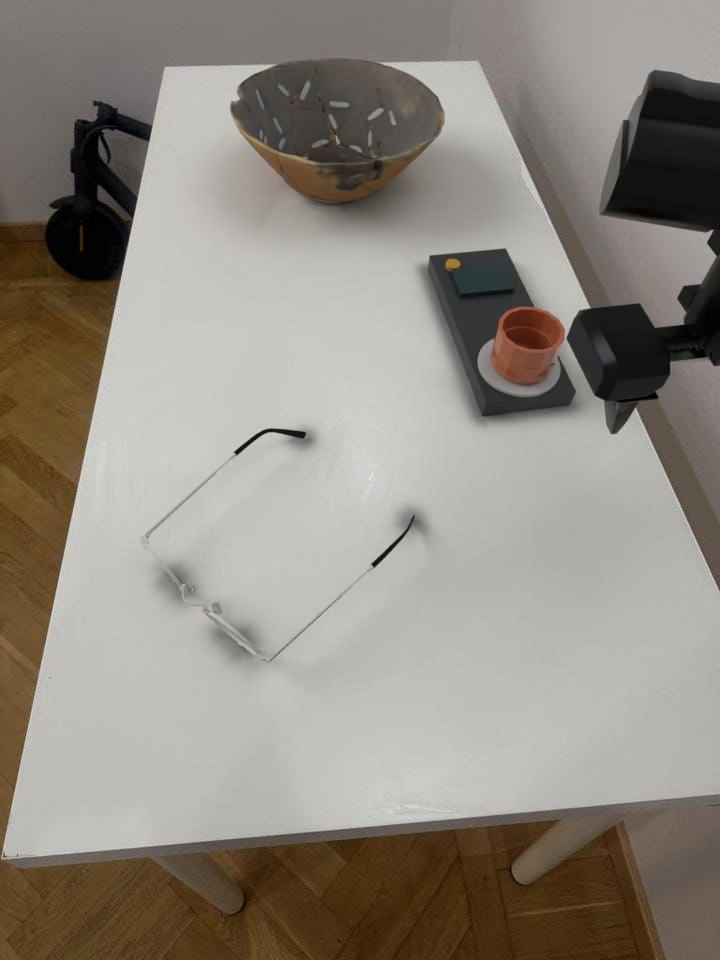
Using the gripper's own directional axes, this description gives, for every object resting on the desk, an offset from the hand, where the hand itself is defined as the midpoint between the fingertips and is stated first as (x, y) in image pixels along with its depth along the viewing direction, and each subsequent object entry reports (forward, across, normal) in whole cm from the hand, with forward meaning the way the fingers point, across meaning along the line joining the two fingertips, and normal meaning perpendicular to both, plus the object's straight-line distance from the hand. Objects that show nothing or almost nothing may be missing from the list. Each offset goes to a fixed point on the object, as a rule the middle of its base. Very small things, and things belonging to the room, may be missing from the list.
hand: (669, 422), depth 47 cm
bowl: (+10, -18, +51) cm, 55 cm away
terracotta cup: (+8, -5, +15) cm, 18 cm away
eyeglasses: (+10, -30, 0) cm, 32 cm away
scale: (+10, -5, +22) cm, 25 cm away
